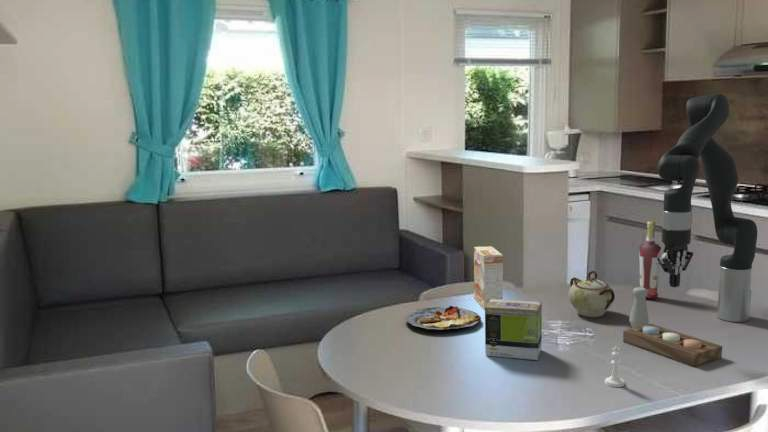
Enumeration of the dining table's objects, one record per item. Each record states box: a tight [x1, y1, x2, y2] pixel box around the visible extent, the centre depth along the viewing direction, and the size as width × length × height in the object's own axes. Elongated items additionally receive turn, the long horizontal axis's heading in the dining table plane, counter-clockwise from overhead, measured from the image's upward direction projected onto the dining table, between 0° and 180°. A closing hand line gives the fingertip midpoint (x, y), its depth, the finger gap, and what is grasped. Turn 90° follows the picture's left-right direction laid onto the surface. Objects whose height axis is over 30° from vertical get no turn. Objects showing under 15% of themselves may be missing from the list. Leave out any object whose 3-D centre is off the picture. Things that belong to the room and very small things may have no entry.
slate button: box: [643, 326, 659, 336], centre depth 207 cm, size 5×5×3 cm
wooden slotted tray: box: [622, 323, 723, 368], centre depth 202 cm, size 12×24×4 cm, turn 30°
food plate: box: [404, 305, 482, 331], centre depth 231 cm, size 25×23×4 cm
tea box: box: [484, 298, 543, 361], centre depth 201 cm, size 15×10×15 cm
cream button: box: [662, 333, 680, 342], centre depth 201 cm, size 5×5×3 cm
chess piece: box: [604, 345, 626, 388], centre depth 179 cm, size 5×5×10 cm
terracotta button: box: [684, 339, 702, 350], centre depth 196 cm, size 5×5×3 cm
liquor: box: [638, 220, 662, 300], centre depth 252 cm, size 7×7×28 cm
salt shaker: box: [628, 286, 650, 328], centre depth 220 cm, size 6×6×13 cm
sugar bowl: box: [567, 270, 616, 318], centre depth 236 cm, size 20×15×15 cm
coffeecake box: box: [473, 245, 504, 311], centre depth 250 cm, size 15×7×20 cm, turn 6°
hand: (674, 286), depth 199 cm, fingers closed
